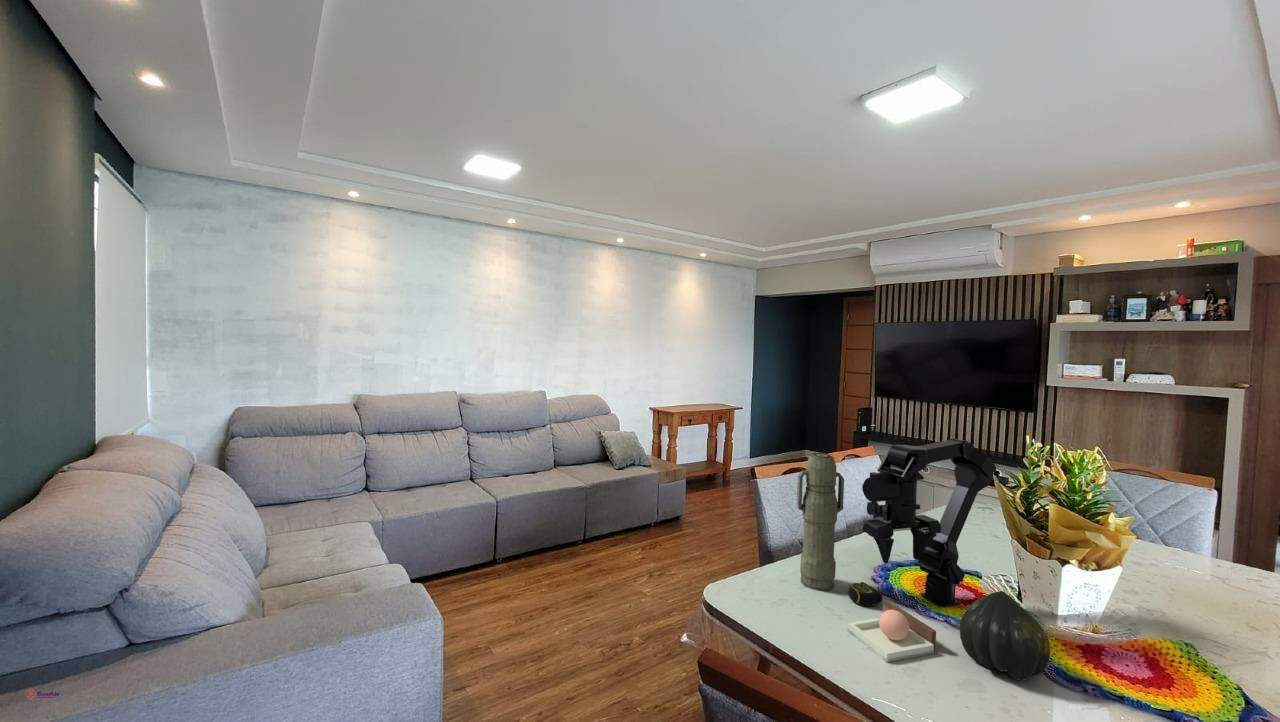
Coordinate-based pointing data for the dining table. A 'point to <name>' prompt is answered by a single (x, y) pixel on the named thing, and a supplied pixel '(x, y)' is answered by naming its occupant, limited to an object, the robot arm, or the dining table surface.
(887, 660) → the dish
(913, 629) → the divider rail
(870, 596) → the tape measure
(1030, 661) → the squash
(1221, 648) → the dining table surface
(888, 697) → the dining table surface
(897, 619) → the ball
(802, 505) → the thermos
